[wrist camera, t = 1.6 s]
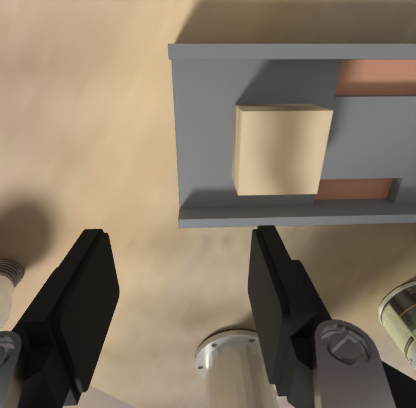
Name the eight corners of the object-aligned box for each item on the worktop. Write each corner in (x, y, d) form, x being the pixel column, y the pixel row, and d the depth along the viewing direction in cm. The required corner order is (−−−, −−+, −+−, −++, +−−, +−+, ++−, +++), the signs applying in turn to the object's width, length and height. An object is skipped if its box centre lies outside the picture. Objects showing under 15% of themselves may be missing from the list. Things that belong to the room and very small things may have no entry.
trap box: (180, 209, 31) (178, 228, 27) (172, 47, 24) (167, 43, 20) (495, 203, 32) (532, 220, 29) (577, 46, 25) (640, 43, 21)
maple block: (231, 176, 28) (237, 195, 24) (234, 104, 25) (242, 111, 21) (299, 175, 28) (316, 193, 24) (311, 103, 25) (333, 110, 21)
